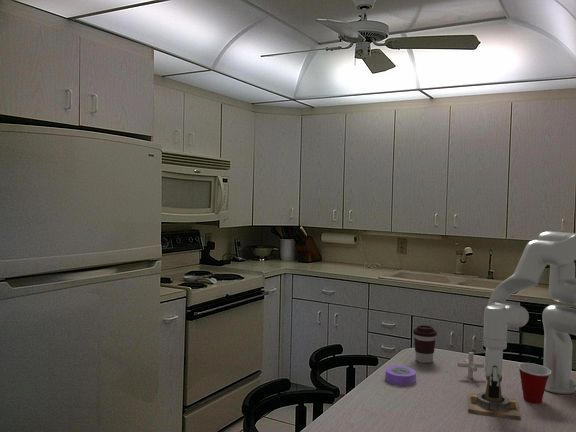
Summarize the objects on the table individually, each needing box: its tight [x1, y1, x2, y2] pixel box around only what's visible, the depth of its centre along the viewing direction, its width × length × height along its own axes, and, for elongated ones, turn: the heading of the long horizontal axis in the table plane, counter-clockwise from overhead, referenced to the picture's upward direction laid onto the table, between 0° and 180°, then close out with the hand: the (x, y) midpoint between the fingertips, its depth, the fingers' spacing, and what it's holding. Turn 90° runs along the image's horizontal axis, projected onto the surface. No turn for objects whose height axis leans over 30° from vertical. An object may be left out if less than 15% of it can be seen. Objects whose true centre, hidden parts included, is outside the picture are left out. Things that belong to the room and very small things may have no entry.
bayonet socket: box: [467, 391, 521, 420], centre depth 178 cm, size 16×16×3 cm
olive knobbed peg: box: [484, 374, 503, 402], centre depth 178 cm, size 6×6×11 cm
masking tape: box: [385, 365, 417, 386], centre depth 203 cm, size 12×12×4 cm
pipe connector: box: [457, 351, 485, 379], centre depth 207 cm, size 10×10×10 cm
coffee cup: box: [413, 324, 438, 364], centre depth 227 cm, size 10×10×15 cm
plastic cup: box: [517, 362, 551, 405], centre depth 184 cm, size 11×11×12 cm
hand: (493, 394), depth 178 cm, fingers open, 4 cm apart
